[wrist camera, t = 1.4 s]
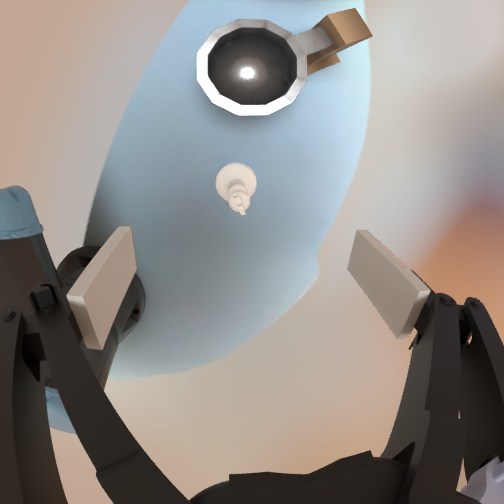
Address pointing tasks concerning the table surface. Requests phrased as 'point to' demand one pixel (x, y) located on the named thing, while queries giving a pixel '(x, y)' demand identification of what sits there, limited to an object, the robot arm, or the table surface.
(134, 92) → the table surface
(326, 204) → the table surface
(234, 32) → the cup bracket
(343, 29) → the walnut post
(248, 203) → the chess piece
